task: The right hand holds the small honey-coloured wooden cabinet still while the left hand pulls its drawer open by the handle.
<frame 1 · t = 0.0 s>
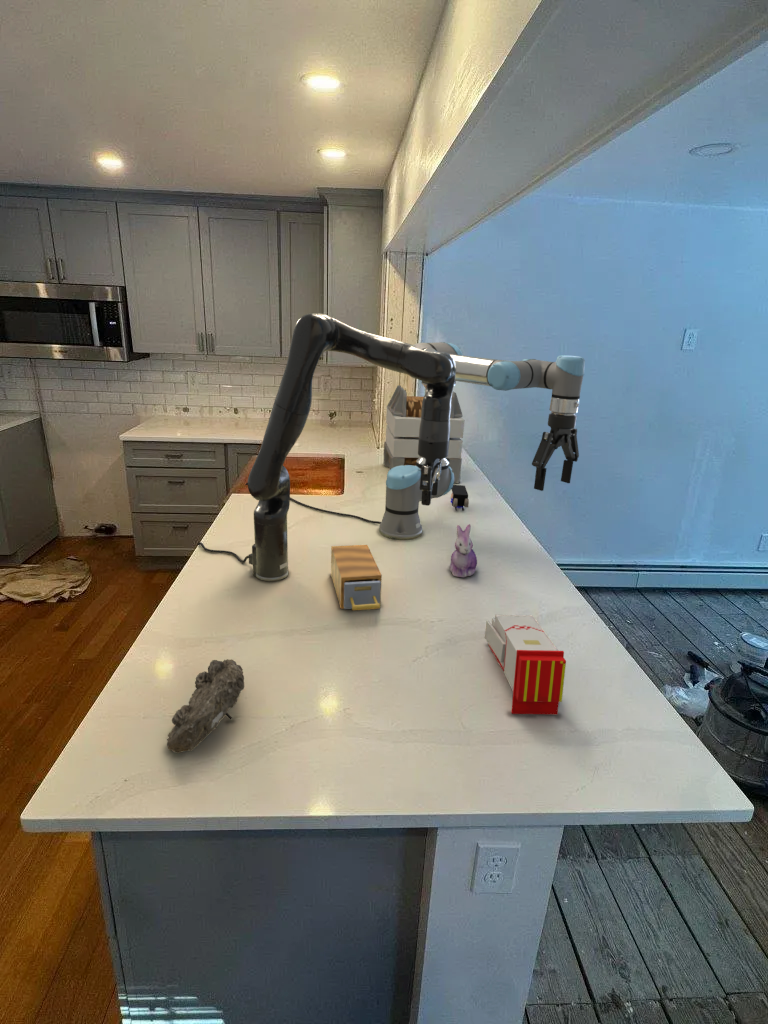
left hand: (429, 499, 144), 29 cm above the counter, tool pointing down, fingers open, 8 cm apart
right hand: (552, 485, 166), 28 cm above the counter, tool pointing down, fingers open, 13 cm apart
figurine character: (458, 507, 230), on the counter
toy: (516, 673, 125), on the counter
cabinet: (354, 589, 159), on the counter
white slatted crate: (419, 473, 275), on the counter
fossil: (212, 717, 108), on the counter
drawer: (358, 584, 153), point 5 cm above the counter, slide at 0.9 cm
figurine: (462, 572, 173), on the counter
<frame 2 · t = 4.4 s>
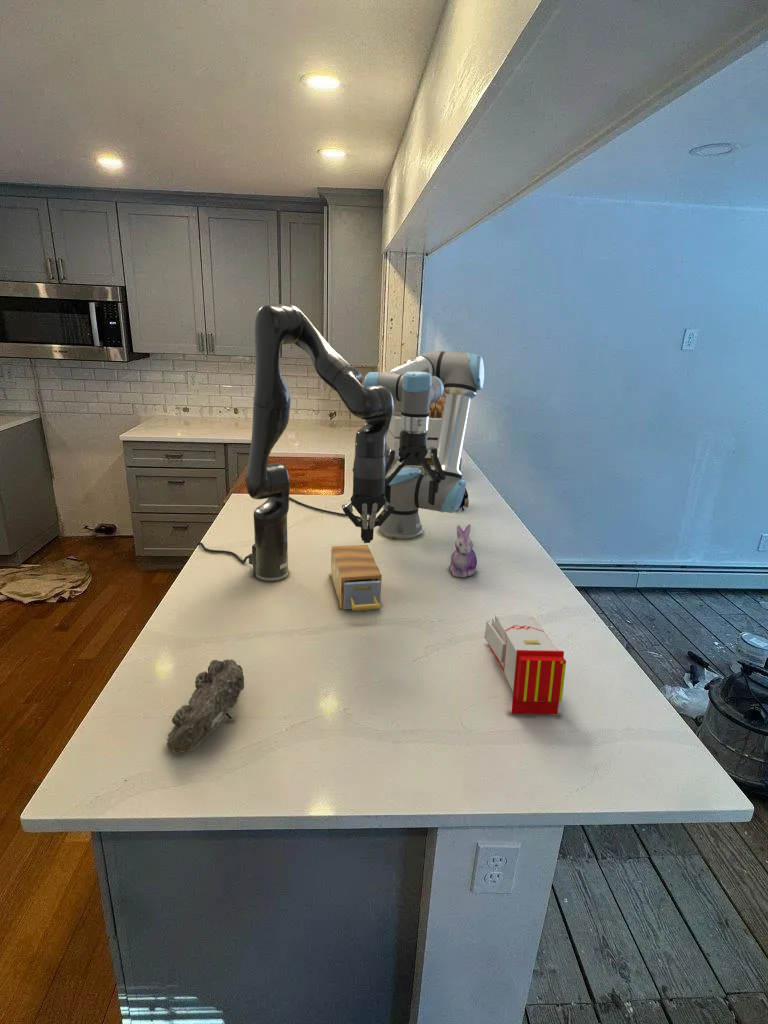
left hand: (366, 541, 138), 21 cm above the counter, tool pointing down, fingers closed
right hand: (409, 505, 160), 23 cm above the counter, tool pointing down, fingers open, 13 cm apart
nothing on the counter moved.
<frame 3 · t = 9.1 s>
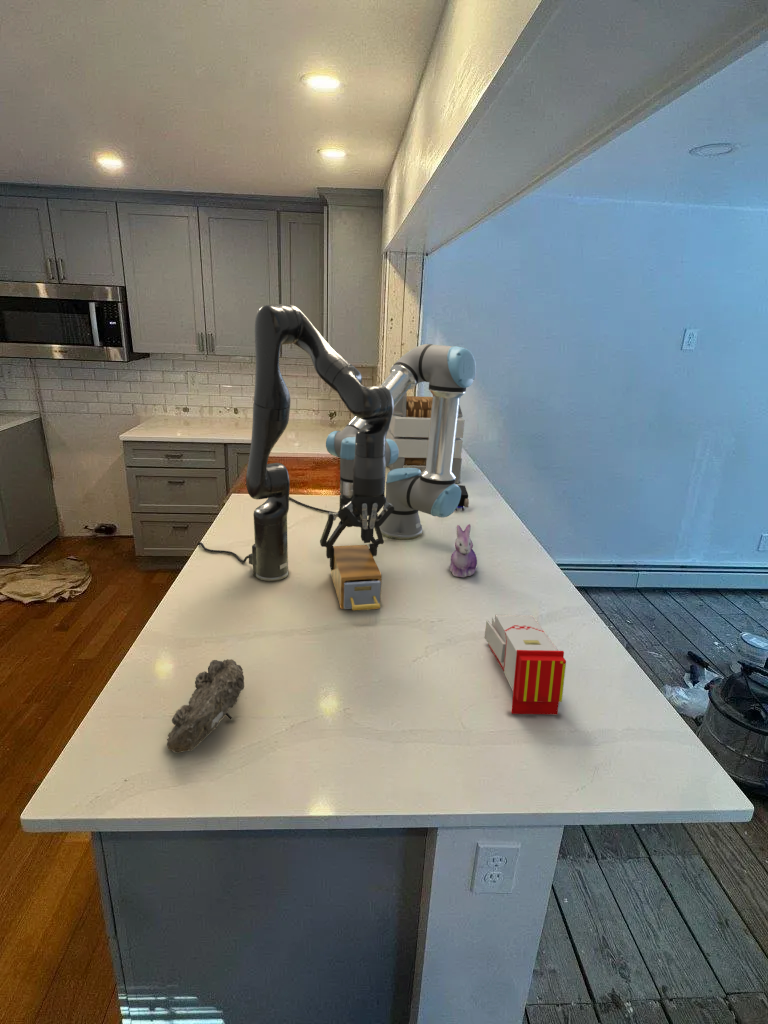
left hand: (366, 541, 138), 21 cm above the counter, tool pointing down, fingers closed
right hand: (351, 567, 163), 4 cm above the counter, tool pointing down, fingers closed on cabinet, 11 cm apart
cabinet: (354, 589, 159), on the counter, touching right hand
everything else where it was.
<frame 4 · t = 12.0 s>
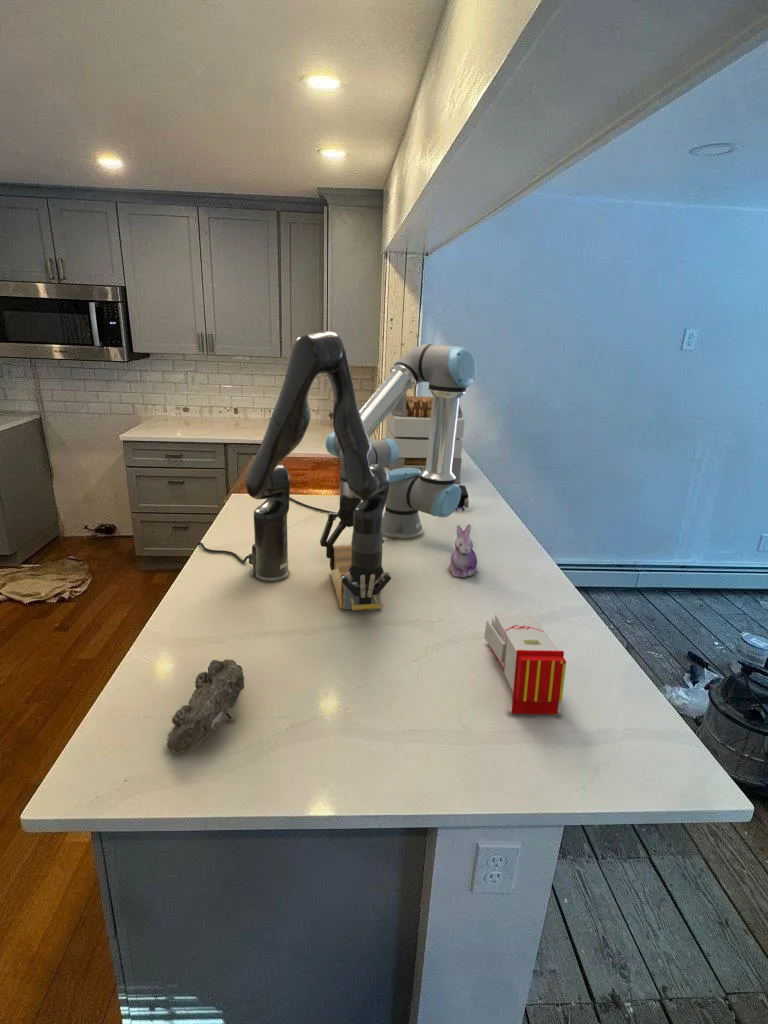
left hand: (364, 608, 144), 3 cm above the counter, tool pointing down, fingers closed
right hand: (351, 566, 163), 4 cm above the counter, tool pointing down, fingers closed on cabinet, 11 cm apart
cabinet: (354, 589, 159), on the counter, touching right hand
drawer: (358, 583, 153), point 5 cm above the counter, slide at 0.9 cm, touching left hand
everything else where it was.
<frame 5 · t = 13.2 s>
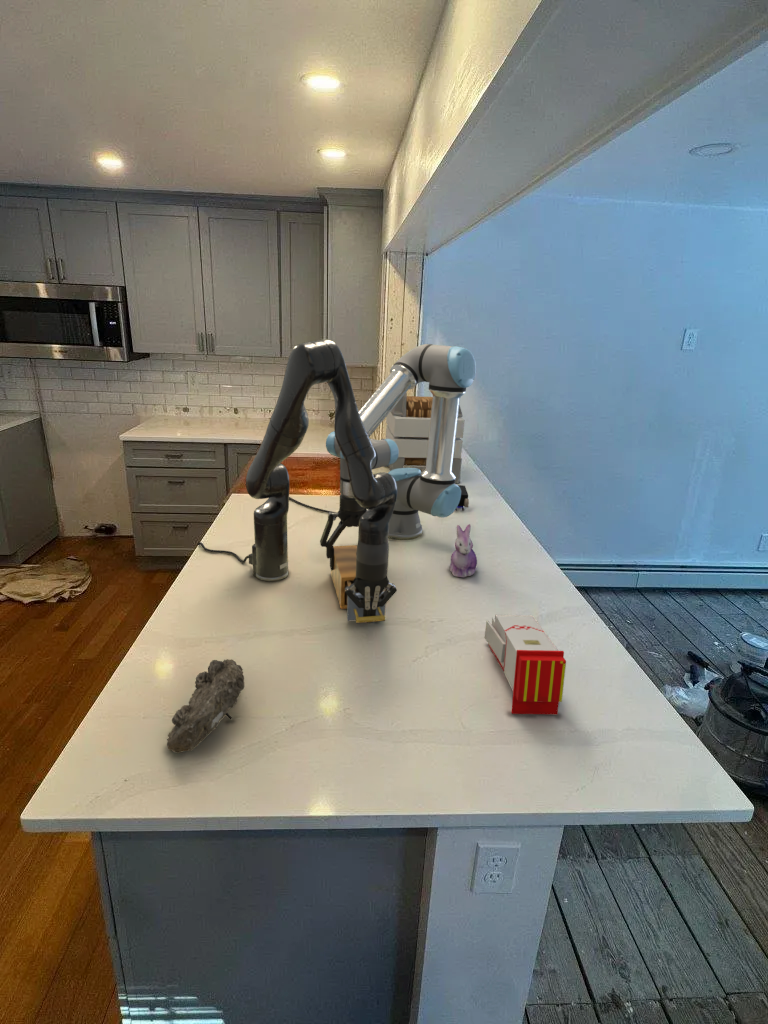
left hand: (369, 620, 139), 3 cm above the counter, tool pointing down, fingers closed
right hand: (351, 567, 163), 4 cm above the counter, tool pointing down, fingers closed on cabinet, 11 cm apart
cabinet: (354, 589, 159), on the counter, touching right hand
drawer: (362, 594, 147), point 5 cm above the counter, slide at 6.8 cm, touching left hand
everything else where it was.
when the right hand's fingers open (4 cm above the counter, at t = 15.1 s): cabinet stays where it is, on the counter.
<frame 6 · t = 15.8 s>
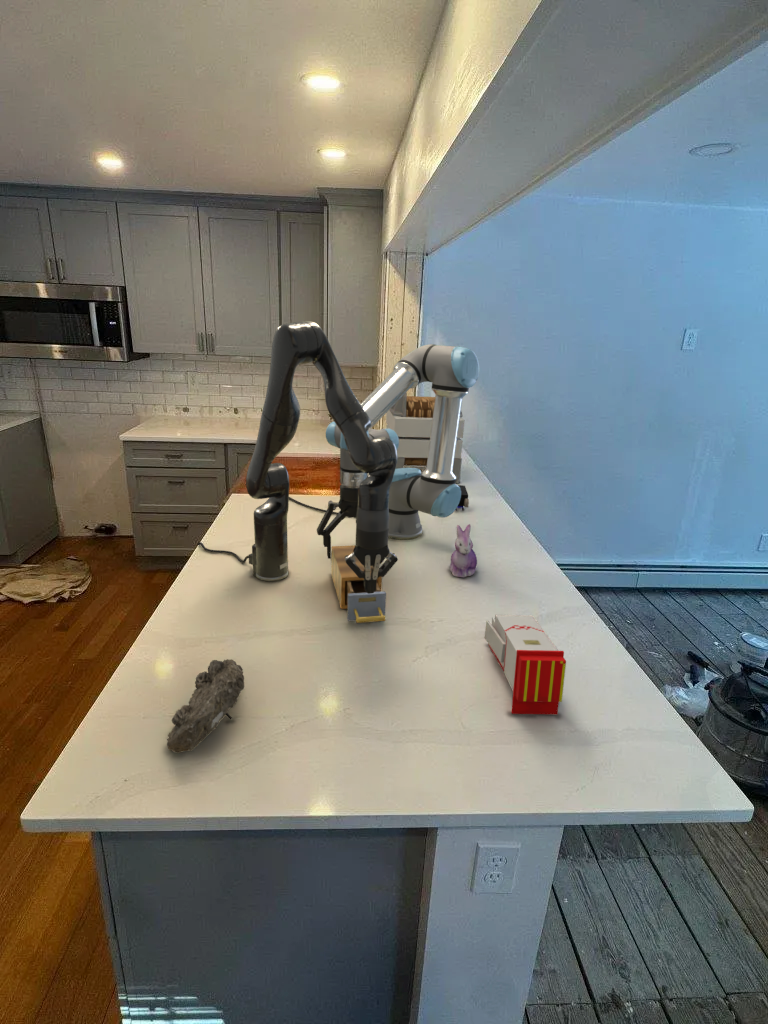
left hand: (369, 591, 136), 11 cm above the counter, tool pointing down, fingers closed
right hand: (352, 555, 162), 8 cm above the counter, tool pointing down, fingers open, 13 cm apart
cabinet: (354, 589, 159), on the counter
drawer: (362, 594, 147), point 5 cm above the counter, slide at 6.8 cm
everything else where it was.
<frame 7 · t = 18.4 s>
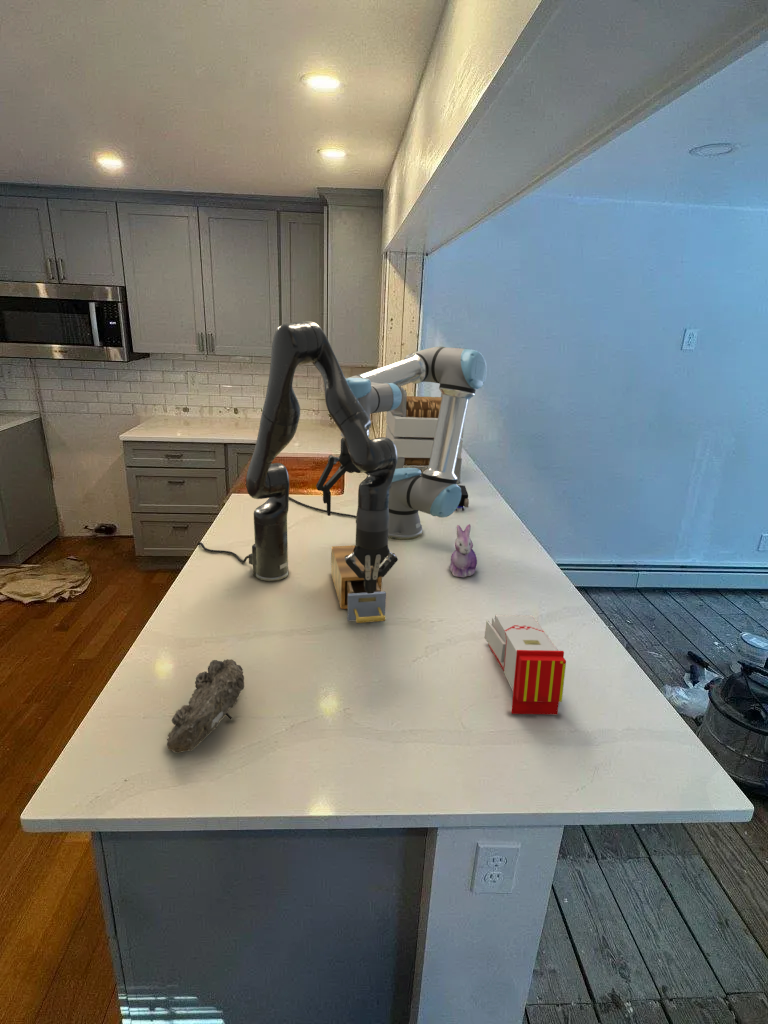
left hand: (369, 591, 136), 11 cm above the counter, tool pointing down, fingers closed
right hand: (353, 513, 158), 21 cm above the counter, tool pointing down, fingers open, 13 cm apart
nothing on the counter moved.
at the end: drawer slide at 6.8 cm; cabinet tilted 0°; cabinet never tilted more than 1° during the clip; cabinet moved 0.1 cm from its start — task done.
